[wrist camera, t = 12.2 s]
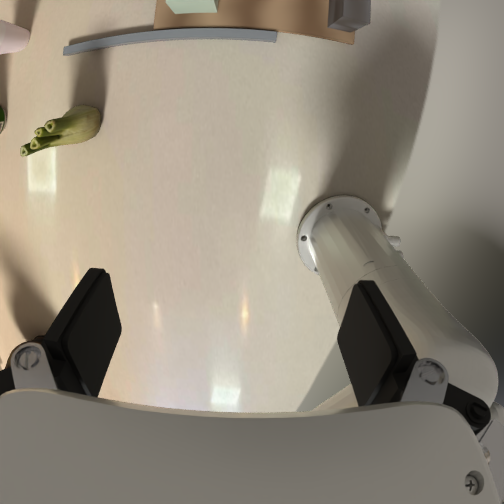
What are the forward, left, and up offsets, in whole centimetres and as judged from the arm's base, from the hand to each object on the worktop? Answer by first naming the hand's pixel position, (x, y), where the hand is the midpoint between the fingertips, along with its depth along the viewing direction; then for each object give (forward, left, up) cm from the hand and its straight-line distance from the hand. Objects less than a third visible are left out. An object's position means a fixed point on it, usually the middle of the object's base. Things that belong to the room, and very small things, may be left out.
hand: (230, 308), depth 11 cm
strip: (-1, -21, -28) cm, 35 cm away
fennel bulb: (+20, -5, -29) cm, 35 cm away
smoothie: (+33, -20, -28) cm, 48 cm away
